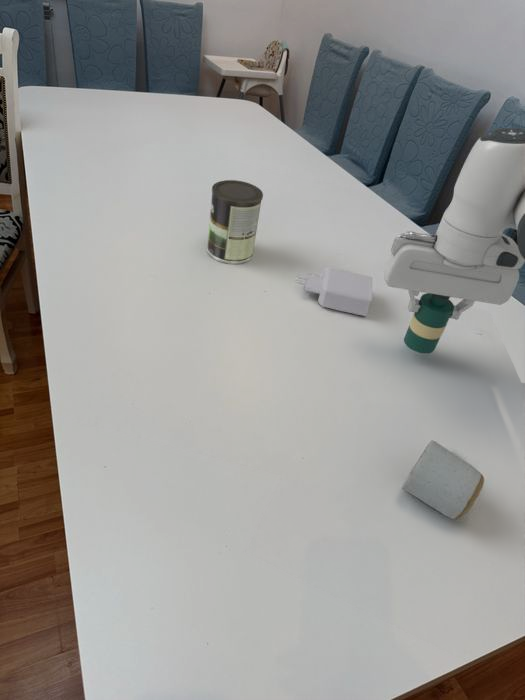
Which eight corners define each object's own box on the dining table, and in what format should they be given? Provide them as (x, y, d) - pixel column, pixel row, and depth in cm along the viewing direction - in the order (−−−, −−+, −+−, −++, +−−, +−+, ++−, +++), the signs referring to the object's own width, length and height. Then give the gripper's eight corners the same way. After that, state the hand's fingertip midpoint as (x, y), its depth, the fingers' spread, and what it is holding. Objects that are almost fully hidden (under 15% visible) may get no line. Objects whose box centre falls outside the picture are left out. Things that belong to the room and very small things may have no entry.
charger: (296, 277, 105) (366, 293, 104) (290, 301, 98) (365, 318, 97) (300, 258, 102) (372, 274, 101) (295, 281, 95) (372, 299, 94)
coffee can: (200, 257, 105) (205, 194, 96) (214, 236, 113) (220, 175, 104) (247, 269, 104) (257, 206, 95) (257, 246, 112) (267, 186, 103)
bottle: (432, 336, 91) (456, 283, 84) (437, 356, 87) (463, 302, 79) (401, 331, 91) (423, 278, 84) (405, 351, 86) (428, 296, 79)
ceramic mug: (453, 534, 63) (480, 500, 58) (395, 498, 66) (415, 462, 61) (475, 481, 71) (500, 446, 66) (421, 450, 73) (441, 415, 69)
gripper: (400, 239, 73) (374, 314, 82) (536, 261, 73) (495, 334, 82) (395, 220, 78) (371, 293, 87) (522, 242, 78) (485, 312, 87)
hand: (432, 313), depth 84 cm, fingers closed on bottle, 5 cm apart
